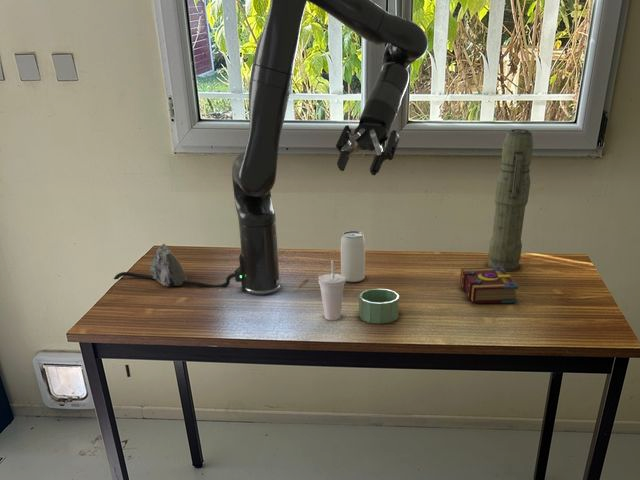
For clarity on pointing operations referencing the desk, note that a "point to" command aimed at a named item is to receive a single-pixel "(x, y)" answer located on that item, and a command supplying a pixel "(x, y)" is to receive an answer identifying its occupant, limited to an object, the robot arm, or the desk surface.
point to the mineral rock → (167, 268)
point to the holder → (378, 306)
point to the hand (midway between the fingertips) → (356, 171)
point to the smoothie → (332, 293)
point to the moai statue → (511, 200)
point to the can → (353, 256)
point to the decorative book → (488, 285)
